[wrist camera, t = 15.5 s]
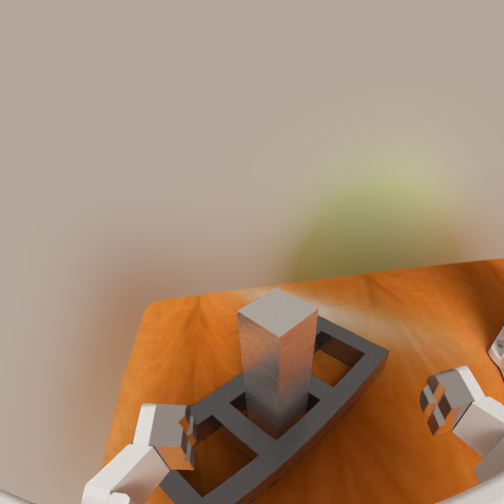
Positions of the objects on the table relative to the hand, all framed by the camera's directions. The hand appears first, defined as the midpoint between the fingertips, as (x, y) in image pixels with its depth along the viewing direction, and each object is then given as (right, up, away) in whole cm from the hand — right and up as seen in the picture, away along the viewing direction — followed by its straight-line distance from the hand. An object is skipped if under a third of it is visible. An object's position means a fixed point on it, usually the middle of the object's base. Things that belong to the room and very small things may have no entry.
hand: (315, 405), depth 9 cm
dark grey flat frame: (0, -11, +19) cm, 22 cm away
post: (0, -11, +19) cm, 22 cm away
